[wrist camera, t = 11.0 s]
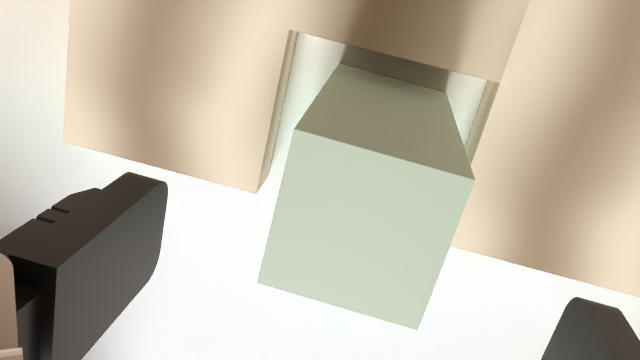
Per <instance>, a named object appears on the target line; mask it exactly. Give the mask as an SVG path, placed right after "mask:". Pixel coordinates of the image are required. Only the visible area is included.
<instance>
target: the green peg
mask: <svg viewBox="0 0 640 360" xmlns="http://www.w3.org/2000/svg"><path fill="white" fill-rule="evenodd" d="M474 182H475V178H474V175H473V172H472V169H471V166H470V163H469V160H468V157H467V154H466V151H465V148H464V145H463V142H462V139H461V137H460V134H459V131H458V128H457V125H456V122H455V119H454V116H453V113H452V110H451V107H450V104H449V101H448V98H447V95H446V93H445V92H441V91H437V90H434V89H430V88H427V87H423V86H419V85H416V84H412V83H409V82H405V81H401V80H398V79H394V78H390V77H387V76H383V75H380V74H376V73H372V72H369V71H365V70H362V69H358V68H354V67H351V66H347V65H344V64H340V63H339V64H338V66H337V67H336V69H335V70H334V72H333V73H332V75H331V76H330V78H329V79H328V80H327V82H326V83H325V85H324V86H323V88H322V89H321V91H320V92H319V94H318V95H317V96H316V98H315V99H314V101H313V102H312V104H311V105H310V107H309V108H308V110H307V111H306V112H305V114H304V115H303V117H302V118H301V120H300V121H299V123H298V124H297V126H296V127H295V128H294V132H293V136H292V140H291V144H290V149H289V153H288V157H287V161H286V165H285V169H284V174H283V178H282V182H281V186H280V190H279V194H278V199H277V203H276V207H275V211H274V215H273V219H272V224H271V228H270V232H269V236H268V240H267V244H266V249H265V253H264V257H263V261H262V265H261V270H260V274H259V278H258V282H257V283H260V284H263V285H267V286H270V287H273V288H277V289H280V290H284V291H287V292H290V293H294V294H297V295H301V296H304V297H307V298H311V299H314V300H317V301H321V302H324V303H328V304H331V305H334V306H338V307H341V308H345V309H348V310H351V311H355V312H358V313H361V314H365V315H368V316H372V317H375V318H378V319H382V320H385V321H388V322H392V323H395V324H399V325H402V326H405V327H409V328H412V329H416V330H418V327H419V325H420V322H421V320H422V317H423V314H424V312H425V309H426V307H427V304H428V301H429V299H430V296H431V294H432V291H433V288H434V286H435V283H436V281H437V278H438V276H439V273H440V270H441V268H442V265H443V263H444V260H445V257H446V255H447V252H448V250H449V247H450V244H451V242H452V239H453V237H454V234H455V231H456V229H457V226H458V224H459V221H460V218H461V216H462V213H463V211H464V208H465V206H466V203H467V200H468V198H469V195H470V193H471V190H472V187H473V185H474Z"/></svg>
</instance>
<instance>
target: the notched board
mask: <svg viewBox="0 0 640 360" xmlns="http://www.w3.org/2000/svg"><path fill="white" fill-rule="evenodd" d="M298 32H301V33H305V34H309V35H313V36H317V37H321V38H325V39H329V40H332V41H336V42H340V43H344V44H348V45H352V46H356V47H360V48H364V49H368V50H372V51H376V52H380V53H384V54H388V55H392V56H395V57H399V58H403V59H407V60H411V61H415V62H419V63H423V64H427V65H431V66H435V67H439V68H443V69H447V70H451V71H455V72H458V73H462V74H466V75H470V76H474V77H478V78H482V79H486V80H488V82H487V85H486V88H485V91H484V94H483V97H482V100H481V103H480V106H479V108H478V111H477V114H476V117H475V120H474V123H473V126H472V129H471V132H470V134H469V137H468V140H467V143H466V146H465V151H466V154H467V157H468V160H469V163H470V166H471V169H472V172H473V175H474V178H475V182H474V185H473V187H472V190H471V193H470V195H469V198H468V200H467V203H466V206H465V208H464V211H463V213H462V216H461V218H460V221H459V224H458V226H457V229H456V231H455V234H454V237H453V239H452V242H451V244H450V246H452V247H455V248H459V249H463V250H466V251H470V252H474V253H478V254H481V255H485V256H489V257H492V258H496V259H500V260H504V261H507V262H511V263H515V264H518V265H522V266H526V267H530V268H533V269H537V270H541V271H544V272H548V273H552V274H555V275H559V276H563V277H567V278H570V279H574V280H578V281H581V282H585V283H589V284H593V285H596V286H600V287H604V288H607V289H611V290H615V291H619V292H622V293H626V294H630V295H633V296H637V297H640V0H70V16H69V35H68V54H67V73H66V92H65V111H64V130H63V142H66V143H69V144H73V145H77V146H81V147H84V148H88V149H92V150H95V151H99V152H103V153H107V154H110V155H114V156H118V157H121V158H125V159H129V160H132V161H136V162H140V163H144V164H147V165H151V166H155V167H158V168H162V169H166V170H170V171H173V172H177V173H181V174H184V175H188V176H192V177H196V178H199V179H203V180H207V181H210V182H214V183H218V184H222V185H225V186H229V187H233V188H236V189H240V190H244V191H248V192H251V193H255V194H256V193H257V192H258V190H259V189H260V187H261V186H262V184H263V183H264V181H265V180H266V178H267V177H268V175H269V170H270V166H271V161H272V156H273V151H274V146H275V141H276V137H277V132H278V127H279V122H280V117H281V112H282V108H283V103H284V98H285V93H286V88H287V83H288V79H289V74H290V69H291V64H292V59H293V54H294V50H295V45H296V40H297V35H298Z"/></svg>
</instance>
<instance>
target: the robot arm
mask: <svg viewBox="0 0 640 360" xmlns="http://www.w3.org/2000/svg"><path fill="white" fill-rule="evenodd" d="M167 196H168V187H167V184H166V182H163V181H160V180H156V179H153V178H149V177H145V176H142V175H138V174H135V173H131V172H127V173H125V174H124V175H122V176H121V177H119V178H118V179H116V180H115V181H114V182H112V183H111V184H109V185H108V186H106V187H105V188H103V189H102V190H101V189H97V188H93V189H89V190H85V191H82V192H78V193H75V194H71V195H69V196H67V197H66V198H64V199H62V200H61V201H59V202H58V203H56V204H55V205H53V206H52V208H51V209H47V210H45V211H44V212H42V213H41V214H39V215H38V216H37V218H36V219H31V220H30V221H28V222H27V223H25V224H24V225H22V226H21V227H19V228H17V229H16V230H14V231H13V232H11V233H10V234H8V235H7V236H5V237H3V238H2V239H0V360H81V359H82V358H83V357H84V356H85V355H86V353H87V352H88V351H89V350H90V349H91V348H92V346H93V345H94V344H95V343H96V342H97V341H98V339H99V338H100V337H101V336H102V335H103V334H104V332H105V331H106V330H107V329H108V328H109V327H110V325H111V324H112V323H113V322H114V321H115V320H116V318H117V317H118V316H119V315H120V314H121V313H122V311H123V310H124V309H125V308H126V307H127V306H128V304H129V303H130V302H131V301H132V300H133V299H134V297H135V296H136V295H137V294H138V293H139V292H140V290H141V289H142V288H143V287H144V286H145V285H146V283H147V282H148V281H149V279H150V278H151V276H152V274H153V272H154V270H155V267H156V265H157V262H158V258H159V254H160V248H161V241H162V233H163V226H164V219H165V211H166V204H167ZM541 360H640V341H639V339H638V337H637V336H636V334H635V333H634V331H633V329H632V328H631V326H630V325H629V323H628V321H627V320H626V318H625V317H624V315H623V314H622V312H621V311H620V310H619V309H618V308H615V307H611V306H607V305H604V304H600V303H597V302H593V301H589V300H586V299H582V298H578V297H575V298H573V299H572V300H571V301H570V302H569V303H568V304H567V306H566V308H565V310H564V312H563V314H562V316H561V318H560V320H559V323H558V325H557V327H556V329H555V331H554V333H553V335H552V337H551V340H550V342H549V344H548V346H547V348H546V350H545V352H544V354H543V356H542V359H541Z"/></svg>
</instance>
